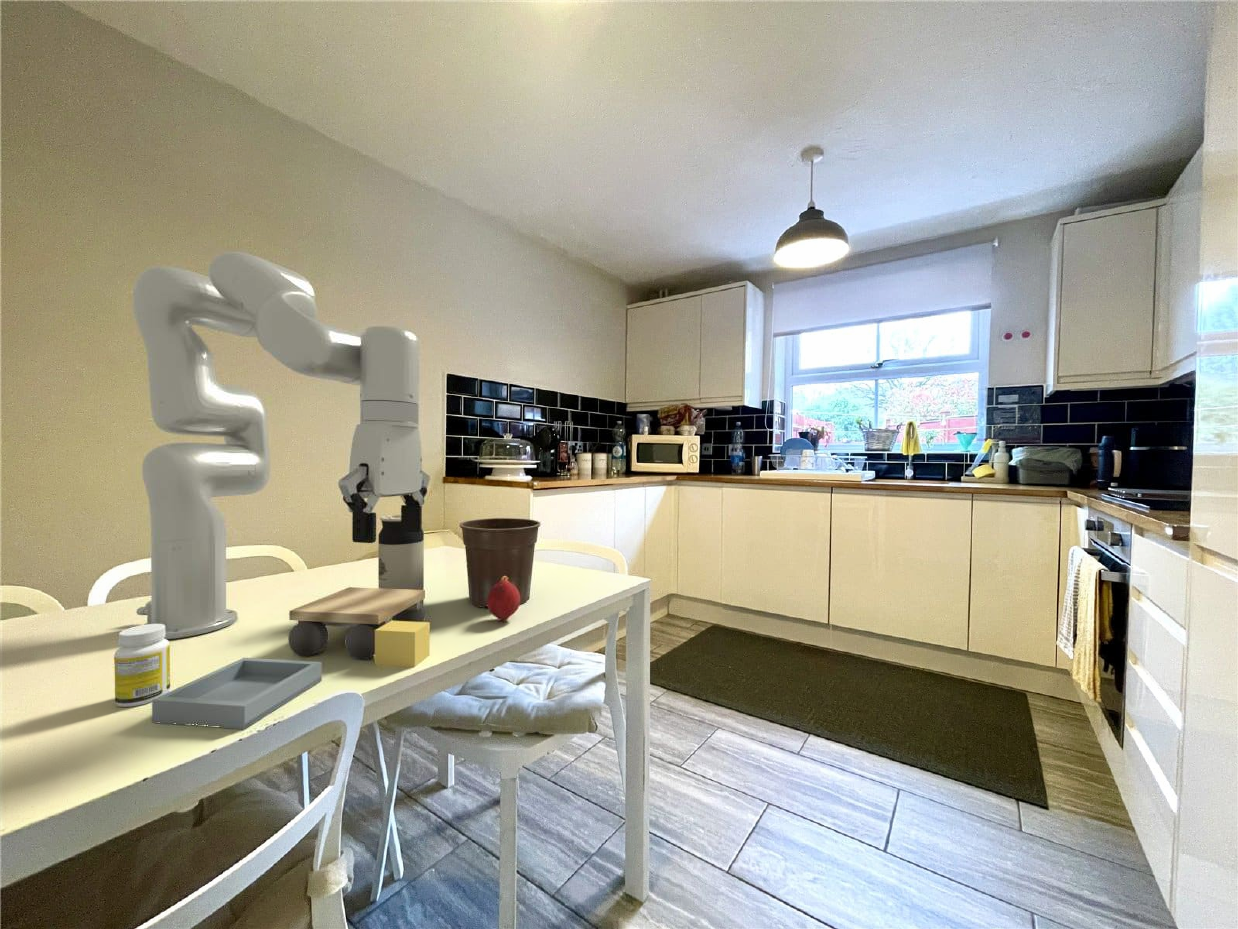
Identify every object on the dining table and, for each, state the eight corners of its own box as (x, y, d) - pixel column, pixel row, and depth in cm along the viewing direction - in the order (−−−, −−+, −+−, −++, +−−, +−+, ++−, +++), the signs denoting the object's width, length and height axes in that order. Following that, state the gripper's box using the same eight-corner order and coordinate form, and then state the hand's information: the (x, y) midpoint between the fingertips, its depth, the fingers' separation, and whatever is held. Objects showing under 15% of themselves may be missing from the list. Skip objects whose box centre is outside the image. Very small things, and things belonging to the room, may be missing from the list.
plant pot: (556, 599, 99) (556, 522, 98) (489, 618, 86) (489, 530, 86) (509, 585, 109) (510, 515, 109) (444, 601, 97) (444, 522, 97)
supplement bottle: (140, 689, 59) (140, 622, 59) (180, 687, 60) (180, 621, 60) (102, 709, 55) (101, 636, 55) (146, 707, 55) (145, 635, 55)
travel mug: (421, 600, 97) (422, 513, 97) (425, 612, 90) (425, 517, 90) (378, 606, 93) (378, 515, 93) (378, 618, 86) (378, 519, 86)
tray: (152, 722, 52) (152, 700, 52) (243, 676, 63) (243, 657, 63) (244, 729, 51) (244, 706, 51) (321, 681, 62) (321, 662, 62)
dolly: (288, 655, 70) (288, 611, 70) (349, 624, 83) (349, 587, 83) (377, 660, 68) (377, 615, 68) (425, 628, 81) (425, 589, 81)
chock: (374, 665, 67) (374, 630, 67) (391, 654, 71) (391, 620, 71) (414, 667, 66) (415, 632, 66) (429, 656, 70) (429, 622, 70)
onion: (511, 627, 82) (511, 581, 82) (481, 625, 83) (481, 579, 83) (525, 616, 88) (525, 573, 88) (496, 614, 89) (496, 572, 89)
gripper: (406, 421, 77) (405, 527, 77) (317, 410, 60) (316, 546, 60) (448, 421, 75) (447, 529, 75) (368, 410, 58) (367, 549, 58)
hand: (389, 536), depth 68 cm, fingers open, 9 cm apart
